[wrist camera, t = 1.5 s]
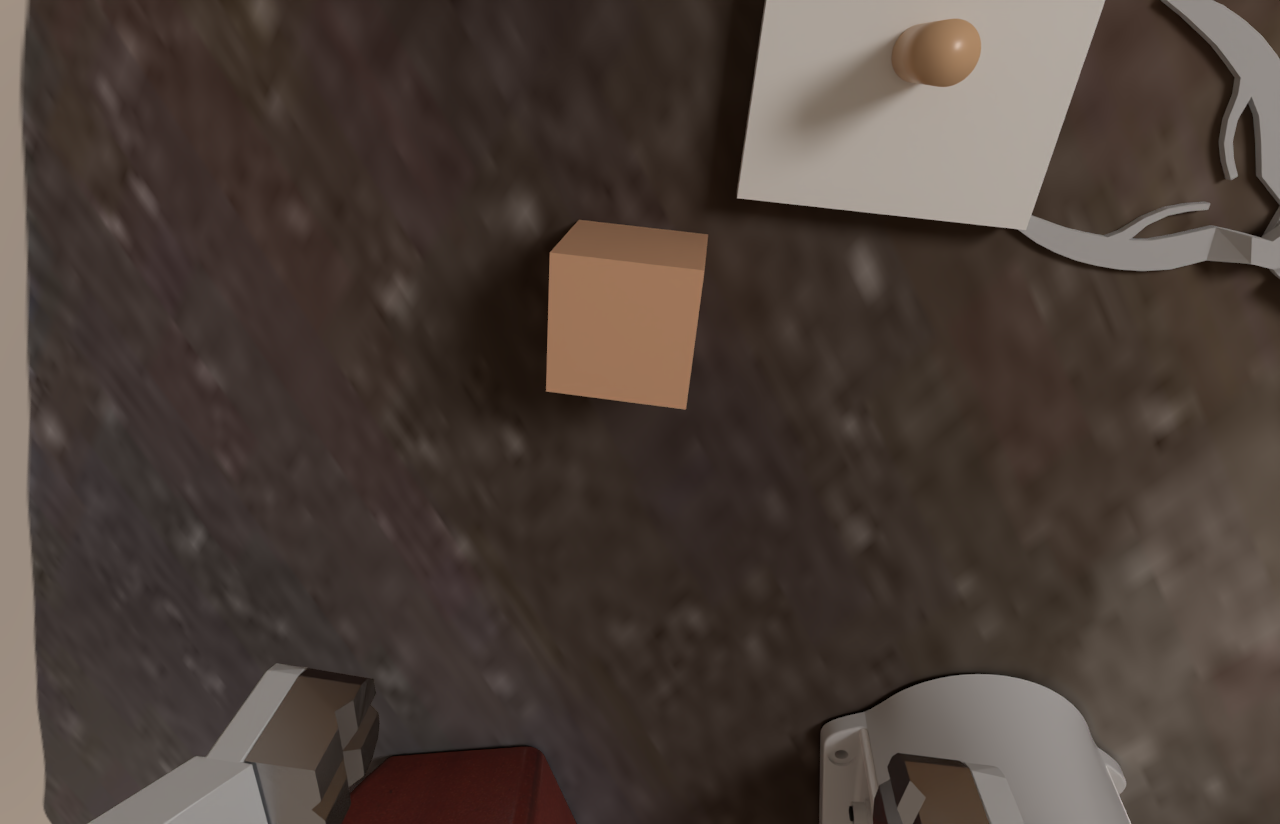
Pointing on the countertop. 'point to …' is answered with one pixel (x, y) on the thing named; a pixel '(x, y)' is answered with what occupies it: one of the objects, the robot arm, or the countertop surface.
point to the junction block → (912, 104)
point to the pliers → (1276, 108)
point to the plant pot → (461, 790)
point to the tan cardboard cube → (624, 312)
